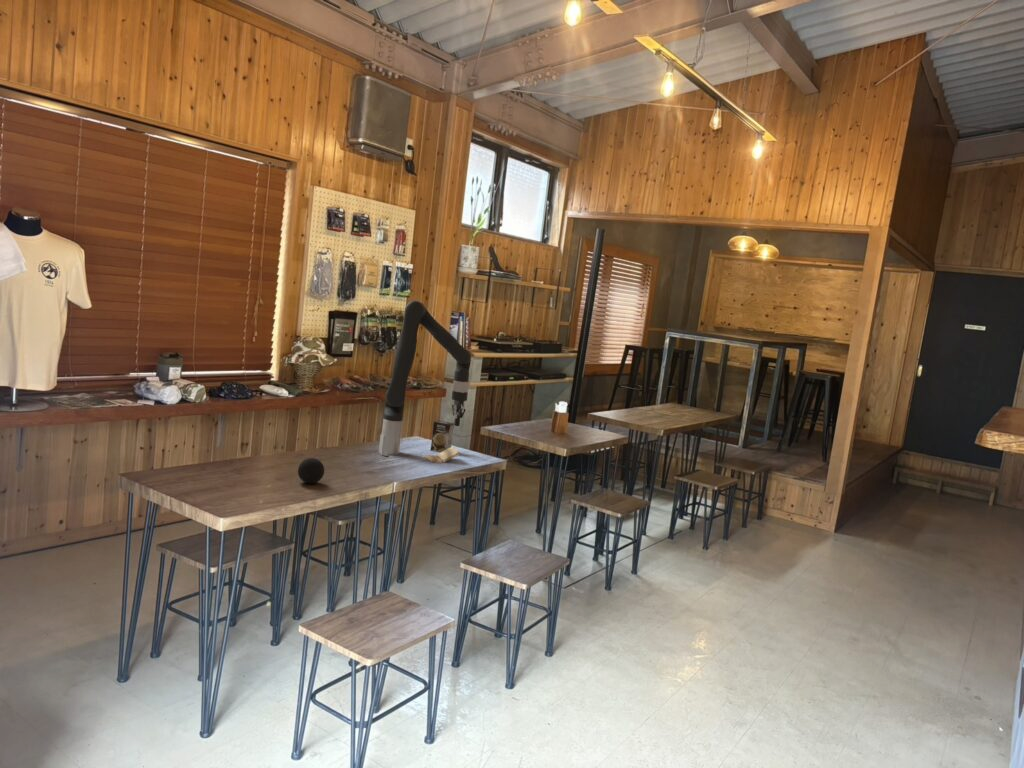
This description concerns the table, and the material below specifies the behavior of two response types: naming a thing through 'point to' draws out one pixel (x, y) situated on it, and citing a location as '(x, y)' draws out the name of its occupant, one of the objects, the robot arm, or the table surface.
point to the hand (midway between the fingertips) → (456, 425)
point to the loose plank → (448, 454)
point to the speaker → (311, 470)
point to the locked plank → (433, 459)
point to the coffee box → (442, 436)
